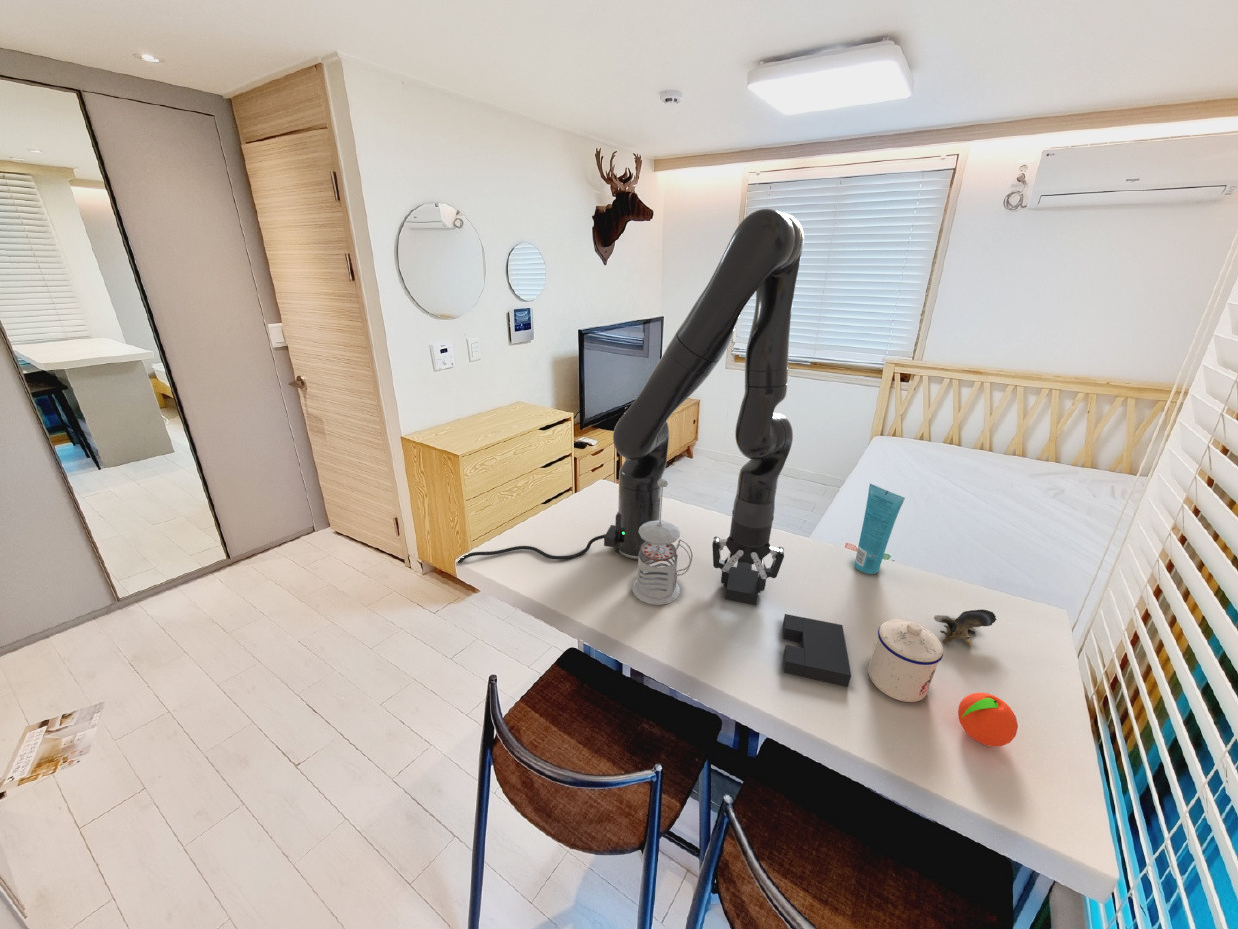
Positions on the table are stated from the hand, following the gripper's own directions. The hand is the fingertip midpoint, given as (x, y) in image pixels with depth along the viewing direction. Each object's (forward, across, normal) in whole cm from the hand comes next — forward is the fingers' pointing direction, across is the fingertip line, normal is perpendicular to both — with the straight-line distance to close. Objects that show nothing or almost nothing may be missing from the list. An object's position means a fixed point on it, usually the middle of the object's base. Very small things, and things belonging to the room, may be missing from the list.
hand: (741, 587), depth 103 cm
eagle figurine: (+1, -39, +2) cm, 39 cm away
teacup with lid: (+1, -26, +15) cm, 30 cm away
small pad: (+1, 0, -1) cm, 2 cm away
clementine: (+1, -35, +24) cm, 42 cm away
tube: (+1, -26, -16) cm, 31 cm away
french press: (+1, +16, +5) cm, 17 cm away
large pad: (+1, -13, +14) cm, 19 cm away
